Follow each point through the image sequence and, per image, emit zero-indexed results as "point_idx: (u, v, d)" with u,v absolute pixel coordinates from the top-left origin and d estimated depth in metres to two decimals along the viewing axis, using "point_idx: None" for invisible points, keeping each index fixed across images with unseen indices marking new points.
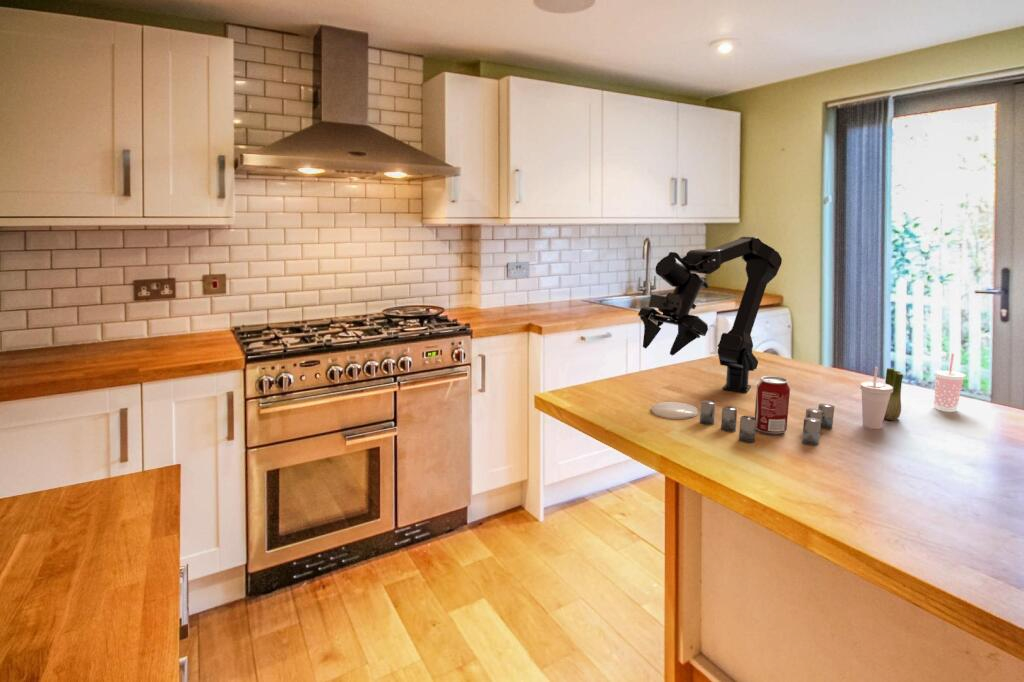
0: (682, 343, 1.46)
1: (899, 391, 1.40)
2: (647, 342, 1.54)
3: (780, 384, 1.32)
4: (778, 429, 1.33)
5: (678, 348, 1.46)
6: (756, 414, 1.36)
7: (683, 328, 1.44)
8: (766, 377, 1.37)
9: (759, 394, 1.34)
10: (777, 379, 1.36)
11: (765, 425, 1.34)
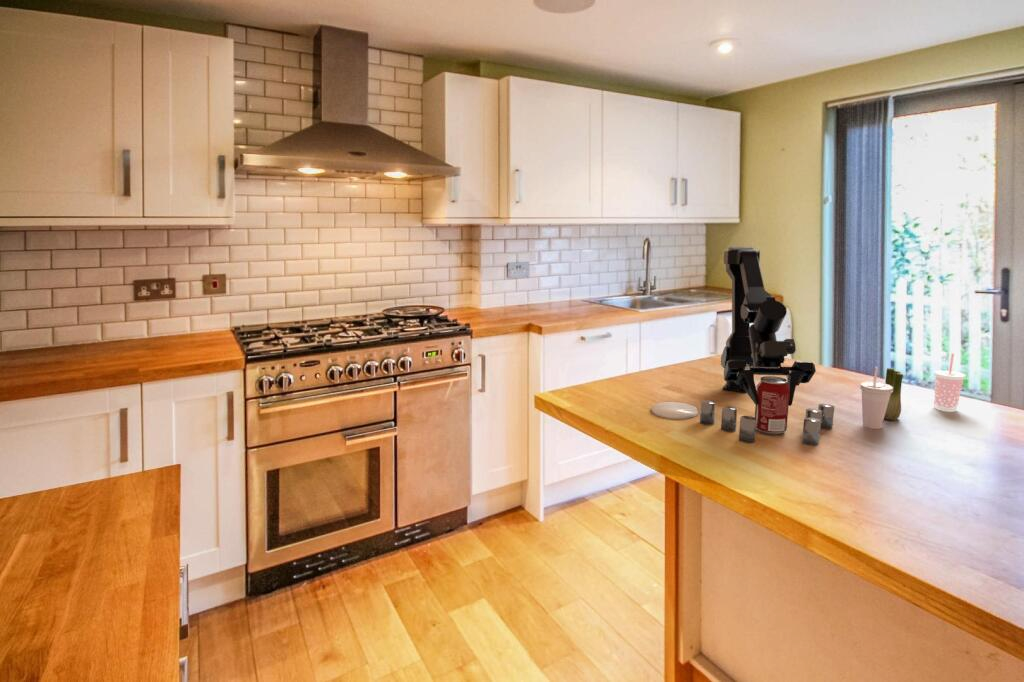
0: None
1: (899, 391, 1.40)
2: None
3: (780, 384, 1.32)
4: (778, 429, 1.33)
5: None
6: (756, 414, 1.36)
7: (799, 374, 1.35)
8: (766, 377, 1.37)
9: (759, 394, 1.34)
10: (777, 379, 1.36)
11: (765, 425, 1.34)
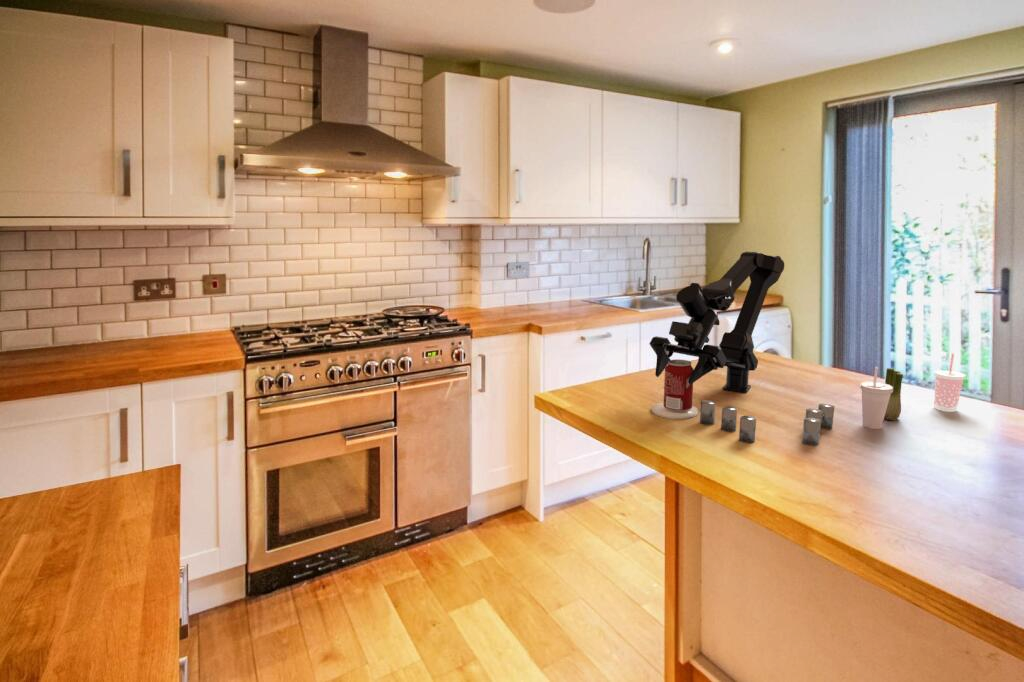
0: (701, 373, 1.45)
1: (899, 391, 1.40)
2: (659, 371, 1.52)
3: (676, 366, 1.45)
4: (673, 407, 1.47)
5: (696, 377, 1.45)
6: None
7: (705, 357, 1.44)
8: (681, 360, 1.50)
9: None
10: (687, 363, 1.48)
11: (664, 401, 1.49)
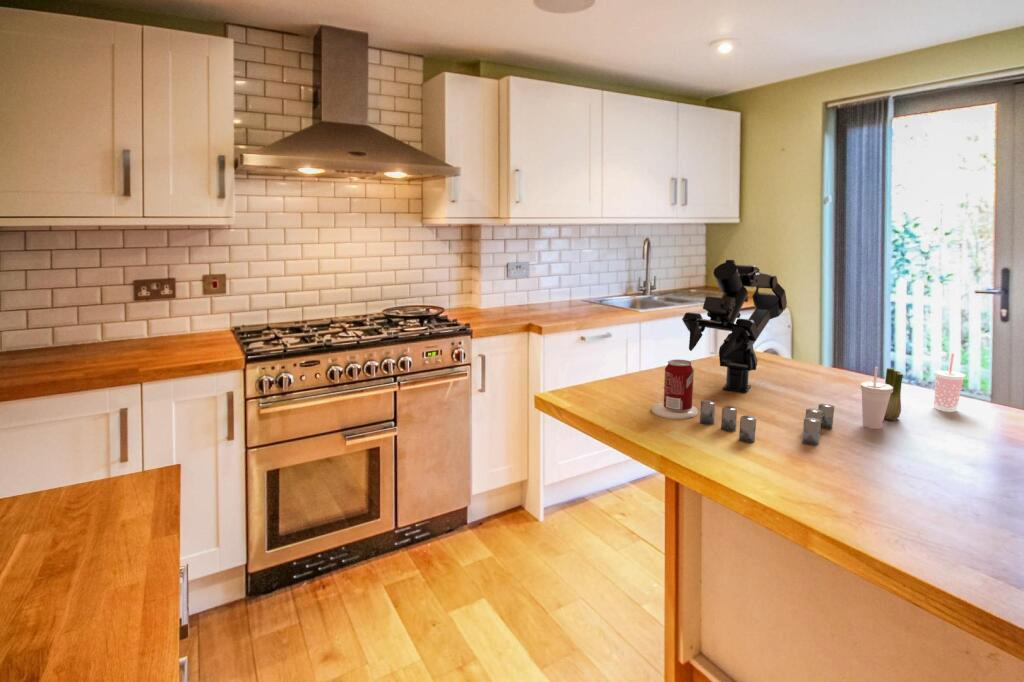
0: (734, 346, 1.51)
1: (899, 391, 1.40)
2: (693, 345, 1.57)
3: (676, 366, 1.45)
4: (673, 407, 1.47)
5: (730, 350, 1.51)
6: None
7: (738, 330, 1.49)
8: (681, 360, 1.50)
9: None
10: (687, 363, 1.48)
11: (664, 401, 1.49)
